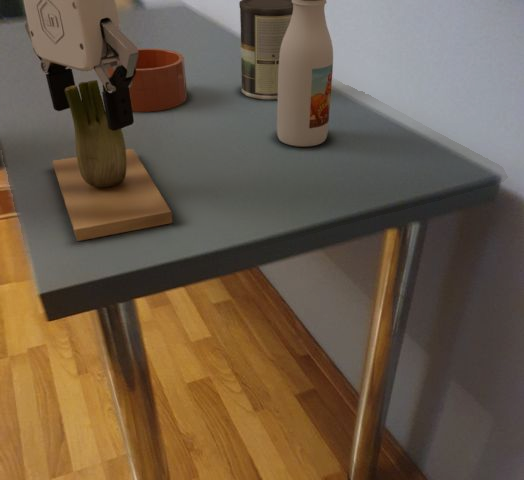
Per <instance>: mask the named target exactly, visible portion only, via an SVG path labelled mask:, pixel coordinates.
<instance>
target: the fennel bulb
mask: <svg viewBox="0 0 524 480" xmlns="http://www.w3.org/2000/svg"><path fill="white" fill-rule="evenodd" d="M104 91H107V90H106V89H105V87H104V85H103V84H102V92H104ZM65 93H66V96H67V100H68V103H69V106H70V108H69V109H70V114H71V117H72V122H73V128H74V139H75V141H74V142H75V155H76V156H75V157H77V161H78V166H79V169H80V173H81V176H82V178H83V179H84V180H85V182H86V183H88V184H89V185H91V186H94V187H109V186H115V185H118V184H120V183H121V182H123V180H124V179H125V175H126V150H127V149H126V143H125V138H124V134H123V129H122V128H121V129H118V130H115V131H113V130H110V129H109V128H108V124H107V118H106V112H105V107H104V101H103V96H102V93H101V90H100V86H99V83H98V80H97V79H95V80H94V79H93V80H88V81H82V82H79V83H78V86H77V85H75V86H70V87H67V88H65Z"/></svg>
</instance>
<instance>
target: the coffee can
mask: <svg viewBox="0 0 524 480" xmlns="http://www.w3.org/2000/svg"><path fill="white" fill-rule="evenodd" d="M238 5H239V15H240V17H239V19H240V21H239V22H240V62H241V63H240V64H241V65H240V67H241V69H240V70H241V88H240V89H241V93H242V94H243V95H244V96H246V97H248V98H252V99H257V100H266V101H267V100H268V101H269V100H271V101H273V100H278V69H279V55H280V48H281V44H282V41H283V38H284V35H285V33H286V31H287V28H288V26H289V23H290V20H291V17H292V13H293V3H292V0H240V1H239V3H238Z"/></svg>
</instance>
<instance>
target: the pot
mask: <svg viewBox="0 0 524 480" xmlns="http://www.w3.org/2000/svg"><path fill="white" fill-rule="evenodd" d="M137 49H138V58H137V63H136V67H135V69H136V74H135V76H134V78H133V79H132V86H131V87H129V92H130V99H131V106H132V112H135V113H137V112H139V113H148V112H149V113H150V112H160V111H165V110H169V109H173V108H176V107H179V106H180V105H182V104H184V103H186V101H187V98H188V87H187V77H186V65H185V57H184V56H183V54H181V53H180V52H178V51H174V50H171V49H170V50H169V49H164V48H137ZM107 71H108V72H109V74H110V76H111V77H112V75H113V73H114V70H113V68H112V67H110V68H107Z"/></svg>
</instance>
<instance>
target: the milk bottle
mask: <svg viewBox="0 0 524 480" xmlns="http://www.w3.org/2000/svg"><path fill="white" fill-rule="evenodd" d="M292 3H293V13H292V17H291V20H290V23H289V26H288V28H287V31H286V33H285V35H284V38H283V41H282V44H281V48H280V55H279V69H278V99H277V104H276V105H277V106H276V136H277V138H278V140H279V142H282V143H283V144H286V145H288V146H293V147H314V146H318V145H320V144H323V143H324V142H325V141H326V140H327V137H328V133H329V132H328V131H329V120H330V108H331V98H332V84H333V83H332V82H333V69H334V49H333V48H334V47H333V42H332V38H331V34H330V32H329V29H328V25H327V20H326V14H325V6H326V4H327V3H328V2H327V0H292Z"/></svg>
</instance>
